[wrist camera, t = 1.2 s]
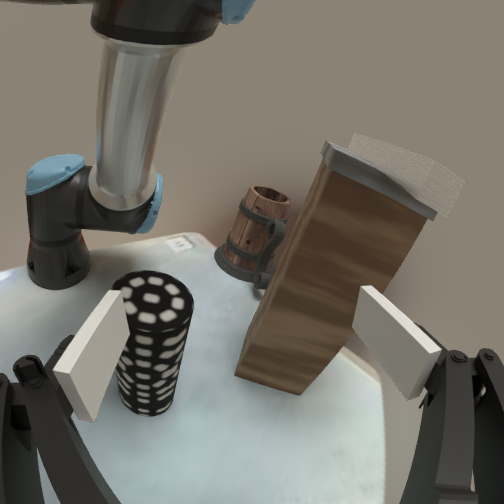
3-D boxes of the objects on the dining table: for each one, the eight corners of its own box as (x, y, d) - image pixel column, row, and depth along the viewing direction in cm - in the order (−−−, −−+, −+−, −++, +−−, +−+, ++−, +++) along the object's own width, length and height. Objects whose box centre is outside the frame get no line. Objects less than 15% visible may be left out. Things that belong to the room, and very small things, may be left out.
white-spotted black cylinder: (115, 410, 30) (98, 320, 20) (123, 364, 37) (121, 263, 27) (172, 420, 32) (192, 340, 22) (174, 374, 39) (195, 279, 29)
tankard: (211, 240, 76) (231, 173, 67) (266, 248, 82) (290, 188, 72) (221, 298, 58) (250, 215, 48) (291, 304, 64) (328, 232, 54)
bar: (447, 218, 15) (465, 181, 14) (416, 199, 15) (434, 160, 14) (363, 155, 43) (369, 140, 42) (348, 148, 43) (354, 133, 42)
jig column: (302, 398, 42) (441, 205, 23) (230, 376, 42) (335, 149, 24) (306, 346, 53) (403, 178, 35) (246, 325, 53) (325, 140, 35)
